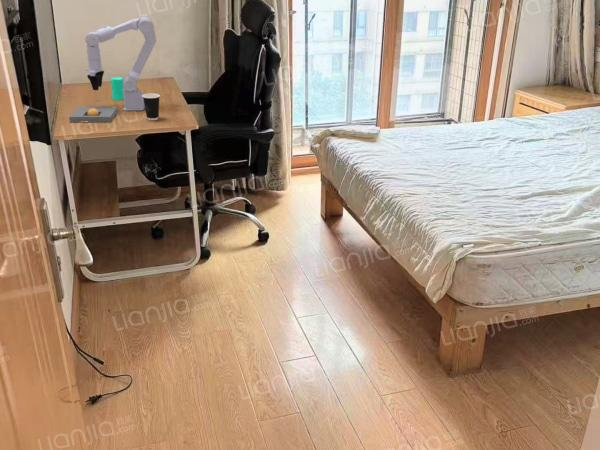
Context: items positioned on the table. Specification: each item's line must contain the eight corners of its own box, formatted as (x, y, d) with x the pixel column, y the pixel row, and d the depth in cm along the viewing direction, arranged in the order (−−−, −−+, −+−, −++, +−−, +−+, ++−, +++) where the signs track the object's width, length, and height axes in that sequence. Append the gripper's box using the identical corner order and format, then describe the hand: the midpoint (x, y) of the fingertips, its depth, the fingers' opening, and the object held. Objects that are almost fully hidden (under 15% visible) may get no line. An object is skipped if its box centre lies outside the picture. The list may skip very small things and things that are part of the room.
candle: (112, 100, 311) (110, 76, 305) (112, 97, 316) (110, 74, 311) (124, 99, 312) (122, 76, 307) (124, 97, 317) (122, 74, 312)
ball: (98, 116, 275) (99, 121, 280) (98, 106, 277) (99, 112, 281) (86, 115, 274) (87, 121, 278) (87, 106, 275) (87, 111, 280)
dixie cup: (142, 120, 278) (140, 97, 274) (146, 116, 286) (144, 93, 281) (159, 121, 278) (157, 97, 274) (163, 116, 286) (161, 93, 281)
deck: (117, 111, 291) (117, 106, 290) (110, 122, 275) (110, 117, 274) (79, 111, 289) (78, 106, 288) (70, 122, 273) (69, 116, 272)
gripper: (88, 56, 289) (92, 84, 295) (82, 62, 276) (85, 91, 282) (104, 56, 290) (106, 84, 296) (97, 62, 277) (101, 91, 283)
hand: (97, 88), depth 289 cm, fingers open, 7 cm apart
